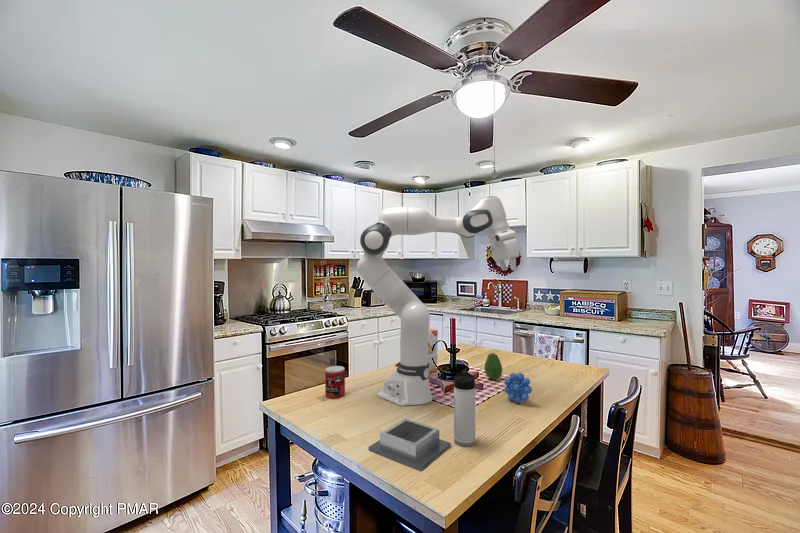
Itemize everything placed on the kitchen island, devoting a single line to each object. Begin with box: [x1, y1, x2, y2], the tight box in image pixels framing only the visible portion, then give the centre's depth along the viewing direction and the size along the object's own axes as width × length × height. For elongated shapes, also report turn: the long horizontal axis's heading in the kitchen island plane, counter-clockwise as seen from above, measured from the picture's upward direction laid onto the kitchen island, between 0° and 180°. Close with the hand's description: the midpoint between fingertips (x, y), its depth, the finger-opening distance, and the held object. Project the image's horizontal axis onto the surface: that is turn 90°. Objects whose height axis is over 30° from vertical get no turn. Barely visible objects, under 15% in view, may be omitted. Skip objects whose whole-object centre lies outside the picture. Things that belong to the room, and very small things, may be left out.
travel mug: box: [453, 372, 476, 448], centre depth 111 cm, size 6×7×20 cm
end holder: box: [368, 418, 452, 472], centre depth 107 cm, size 18×16×5 cm
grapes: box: [503, 372, 533, 405], centre depth 141 cm, size 12×7×12 cm, turn 41°
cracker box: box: [428, 328, 439, 375], centre depth 179 cm, size 14×6×21 cm, turn 128°
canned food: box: [324, 365, 346, 400], centre depth 150 cm, size 8×8×11 cm
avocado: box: [484, 353, 503, 381], centre depth 170 cm, size 8×8×12 cm
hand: (509, 270), depth 145 cm, fingers open, 8 cm apart
